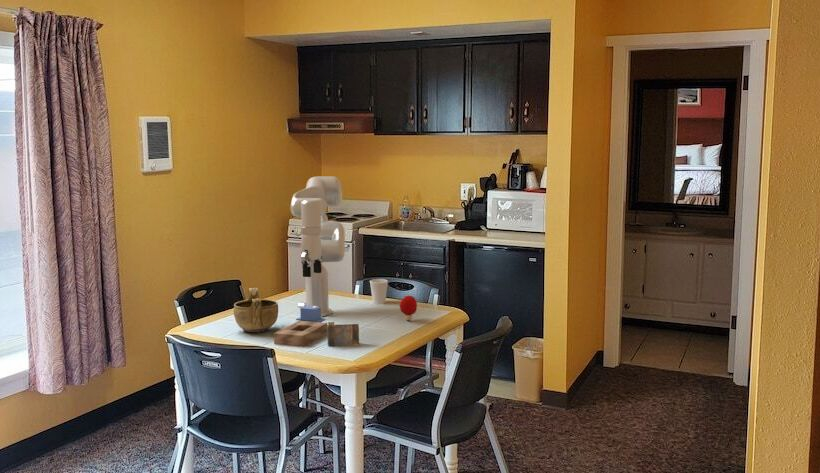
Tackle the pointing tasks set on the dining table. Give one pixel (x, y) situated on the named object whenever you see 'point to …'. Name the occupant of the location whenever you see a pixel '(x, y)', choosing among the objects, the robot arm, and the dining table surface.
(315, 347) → the dining table surface
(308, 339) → the brown wooden flat block
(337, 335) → the ruin model on sheet
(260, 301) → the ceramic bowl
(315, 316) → the servo
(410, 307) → the light bulb
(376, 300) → the dixie cup
